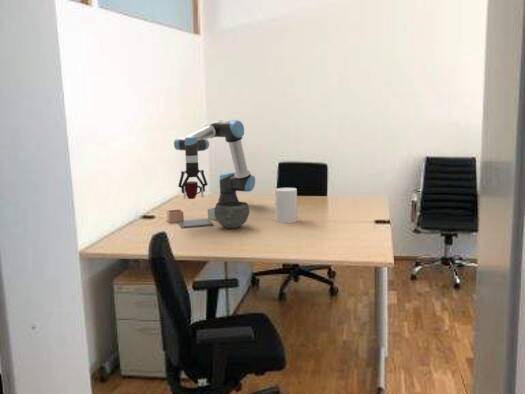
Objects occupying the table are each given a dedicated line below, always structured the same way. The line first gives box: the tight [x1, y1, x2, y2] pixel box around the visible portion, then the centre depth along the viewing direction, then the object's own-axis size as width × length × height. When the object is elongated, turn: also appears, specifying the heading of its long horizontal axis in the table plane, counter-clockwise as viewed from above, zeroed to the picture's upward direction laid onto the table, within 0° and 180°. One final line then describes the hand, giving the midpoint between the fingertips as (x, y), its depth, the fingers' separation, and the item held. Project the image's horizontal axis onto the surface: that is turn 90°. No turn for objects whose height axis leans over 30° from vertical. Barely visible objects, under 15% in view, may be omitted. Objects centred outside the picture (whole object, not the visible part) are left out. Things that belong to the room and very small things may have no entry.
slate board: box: [176, 218, 214, 229], centre depth 363 cm, size 20×16×1 cm
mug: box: [184, 181, 202, 200], centre depth 359 cm, size 10×8×10 cm
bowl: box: [214, 201, 250, 229], centre depth 351 cm, size 21×21×15 cm
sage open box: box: [207, 207, 218, 222], centre depth 375 cm, size 8×8×7 cm
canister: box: [274, 187, 298, 224], centre depth 365 cm, size 14×14×20 cm
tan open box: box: [166, 208, 185, 224], centre depth 370 cm, size 9×9×7 cm
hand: (193, 197), depth 360 cm, fingers closed on mug, 10 cm apart
